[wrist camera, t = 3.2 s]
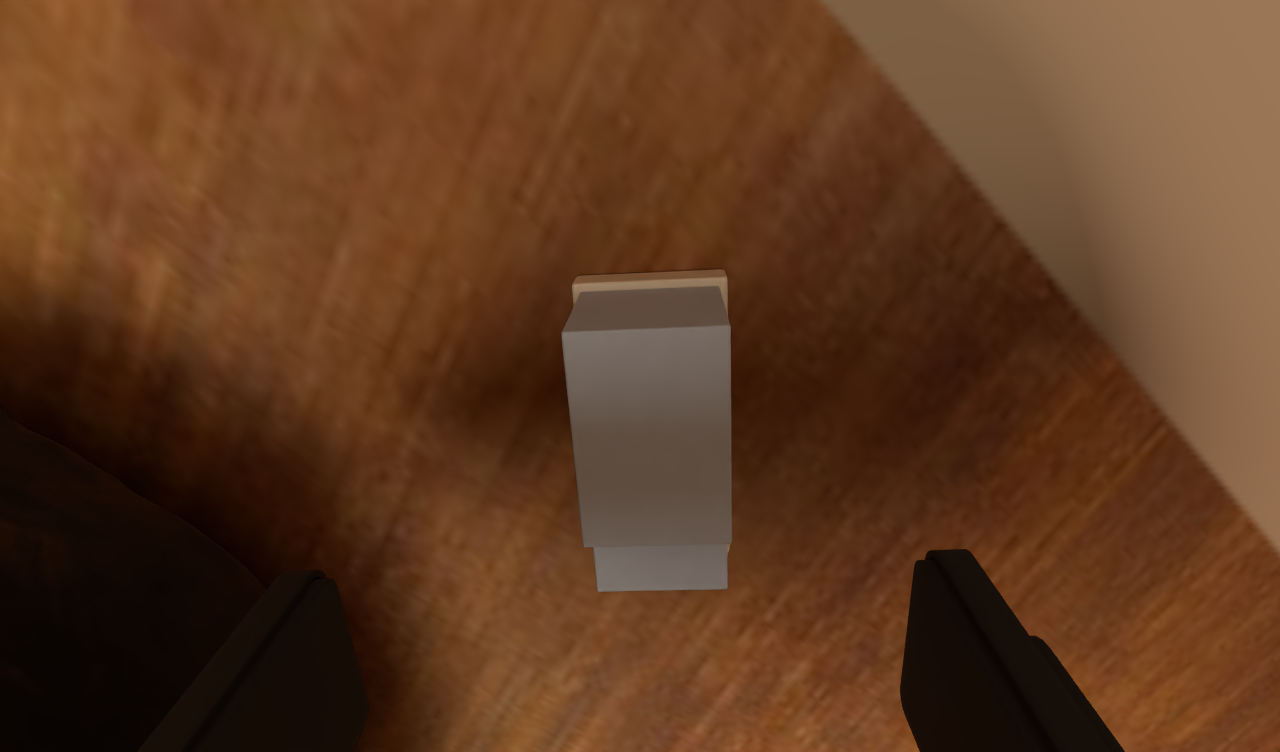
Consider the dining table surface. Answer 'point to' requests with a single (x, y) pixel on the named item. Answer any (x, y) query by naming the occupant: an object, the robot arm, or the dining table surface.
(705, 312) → the grey stepped block
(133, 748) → the bowl
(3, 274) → the dining table surface
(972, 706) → the robot arm
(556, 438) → the dining table surface
